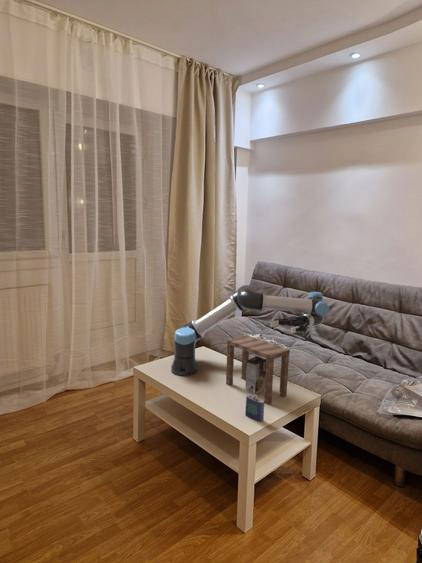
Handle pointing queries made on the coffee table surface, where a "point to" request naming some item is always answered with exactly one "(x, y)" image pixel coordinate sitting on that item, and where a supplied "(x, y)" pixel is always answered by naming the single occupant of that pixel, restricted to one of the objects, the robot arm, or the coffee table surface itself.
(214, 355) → the coffee table surface
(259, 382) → the coffee box
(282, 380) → the wooden stool
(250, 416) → the flask
